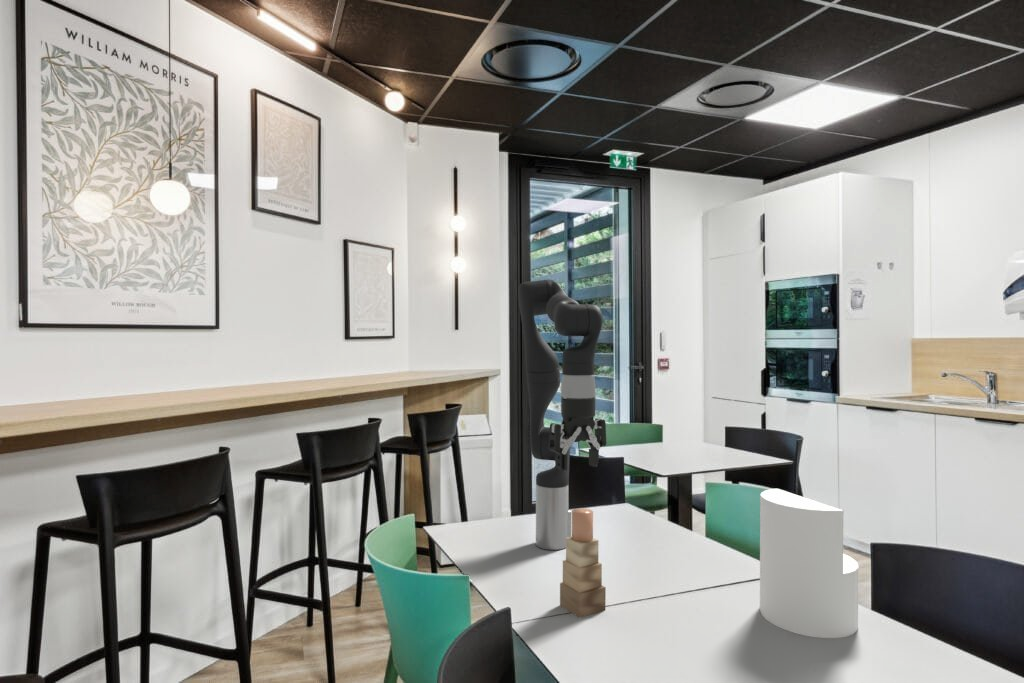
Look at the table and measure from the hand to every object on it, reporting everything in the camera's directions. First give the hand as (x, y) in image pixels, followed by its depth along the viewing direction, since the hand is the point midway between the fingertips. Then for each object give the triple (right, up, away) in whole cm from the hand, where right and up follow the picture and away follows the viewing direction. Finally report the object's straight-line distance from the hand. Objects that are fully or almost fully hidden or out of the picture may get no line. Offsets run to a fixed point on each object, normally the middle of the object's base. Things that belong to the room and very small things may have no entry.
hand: (578, 468), depth 137 cm
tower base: (+1, -30, -2) cm, 30 cm away
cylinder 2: (+48, -30, -6) cm, 57 cm away
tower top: (+1, -20, -2) cm, 20 cm away
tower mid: (+1, -25, -2) cm, 25 cm away
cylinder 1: (+1, -15, -2) cm, 15 cm away
